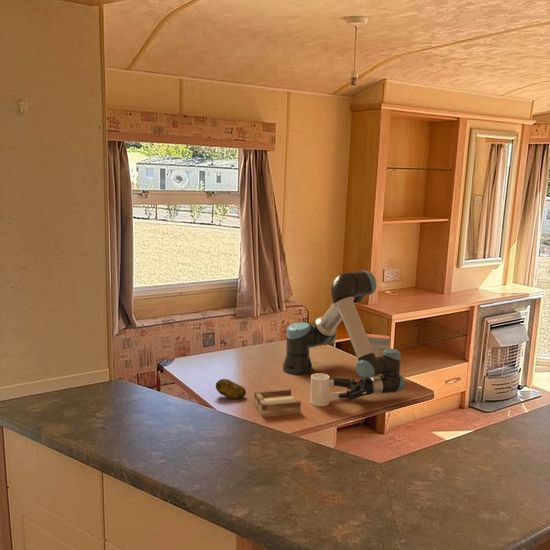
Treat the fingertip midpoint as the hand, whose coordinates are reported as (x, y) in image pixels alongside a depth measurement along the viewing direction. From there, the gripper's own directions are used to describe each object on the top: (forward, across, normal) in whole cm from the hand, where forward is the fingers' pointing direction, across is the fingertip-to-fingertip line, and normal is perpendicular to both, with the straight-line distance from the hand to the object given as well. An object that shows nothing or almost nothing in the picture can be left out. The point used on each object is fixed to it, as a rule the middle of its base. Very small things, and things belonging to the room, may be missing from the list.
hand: (325, 390), depth 243 cm
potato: (+38, +17, -7) cm, 42 cm away
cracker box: (-36, +26, -7) cm, 45 cm away
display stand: (+21, +1, -6) cm, 22 cm away
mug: (+2, +1, -7) cm, 7 cm away
